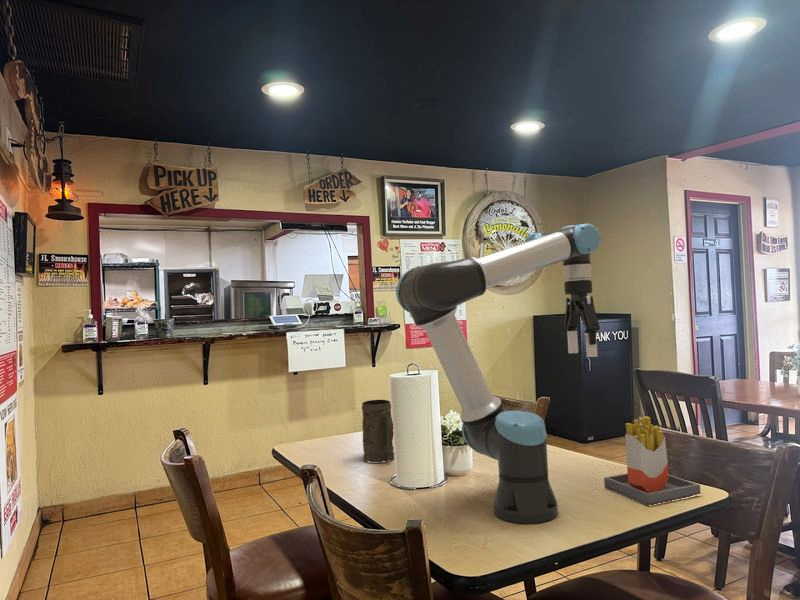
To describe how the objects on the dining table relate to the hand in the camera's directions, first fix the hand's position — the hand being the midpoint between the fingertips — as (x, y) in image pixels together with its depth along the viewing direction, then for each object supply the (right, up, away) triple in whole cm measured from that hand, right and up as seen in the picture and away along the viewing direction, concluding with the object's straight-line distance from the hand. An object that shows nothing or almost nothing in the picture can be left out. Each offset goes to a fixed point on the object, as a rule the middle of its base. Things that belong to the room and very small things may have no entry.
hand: (582, 355), depth 161 cm
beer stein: (-57, -39, +30) cm, 76 cm away
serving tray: (+13, -34, -15) cm, 39 cm away
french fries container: (+12, -33, -16) cm, 39 cm away
